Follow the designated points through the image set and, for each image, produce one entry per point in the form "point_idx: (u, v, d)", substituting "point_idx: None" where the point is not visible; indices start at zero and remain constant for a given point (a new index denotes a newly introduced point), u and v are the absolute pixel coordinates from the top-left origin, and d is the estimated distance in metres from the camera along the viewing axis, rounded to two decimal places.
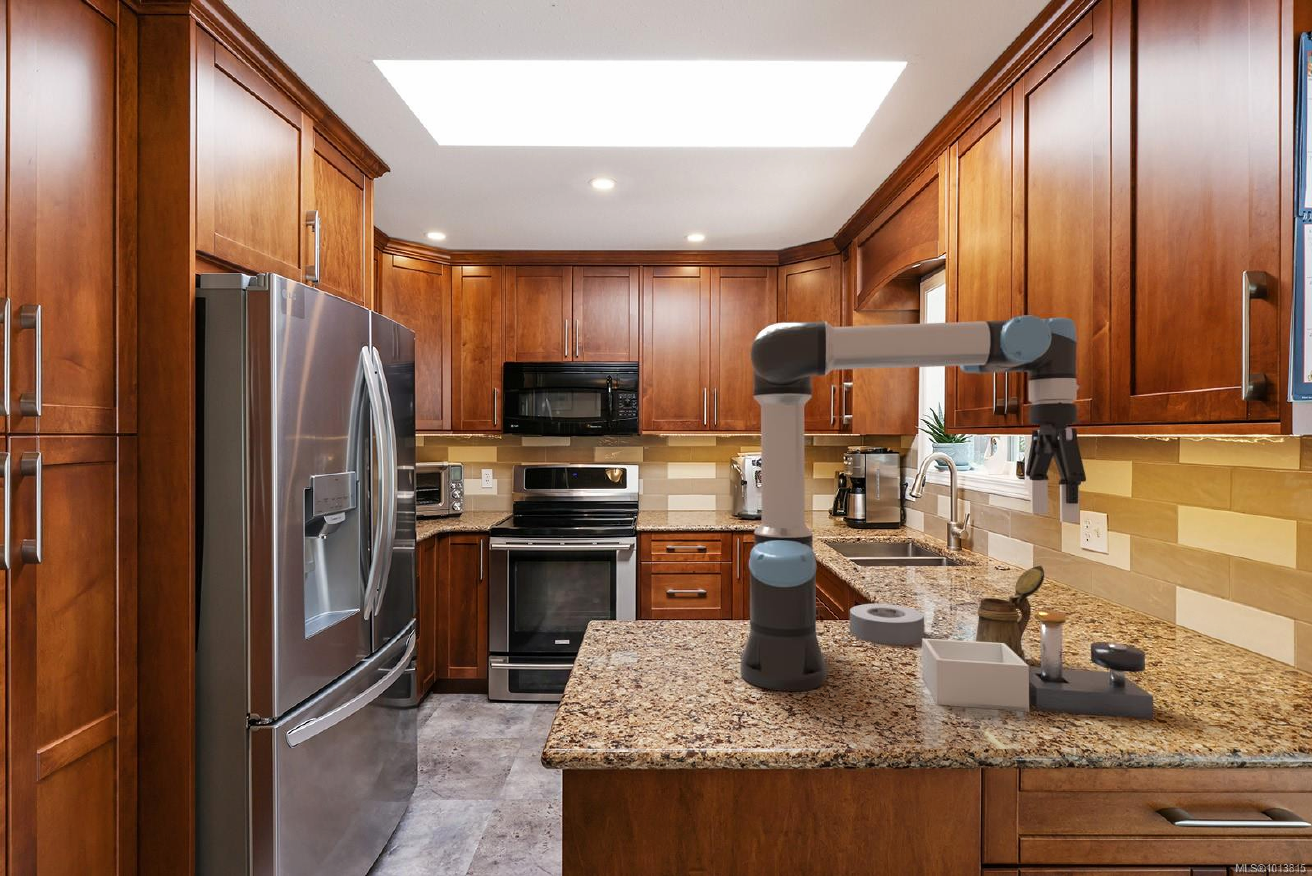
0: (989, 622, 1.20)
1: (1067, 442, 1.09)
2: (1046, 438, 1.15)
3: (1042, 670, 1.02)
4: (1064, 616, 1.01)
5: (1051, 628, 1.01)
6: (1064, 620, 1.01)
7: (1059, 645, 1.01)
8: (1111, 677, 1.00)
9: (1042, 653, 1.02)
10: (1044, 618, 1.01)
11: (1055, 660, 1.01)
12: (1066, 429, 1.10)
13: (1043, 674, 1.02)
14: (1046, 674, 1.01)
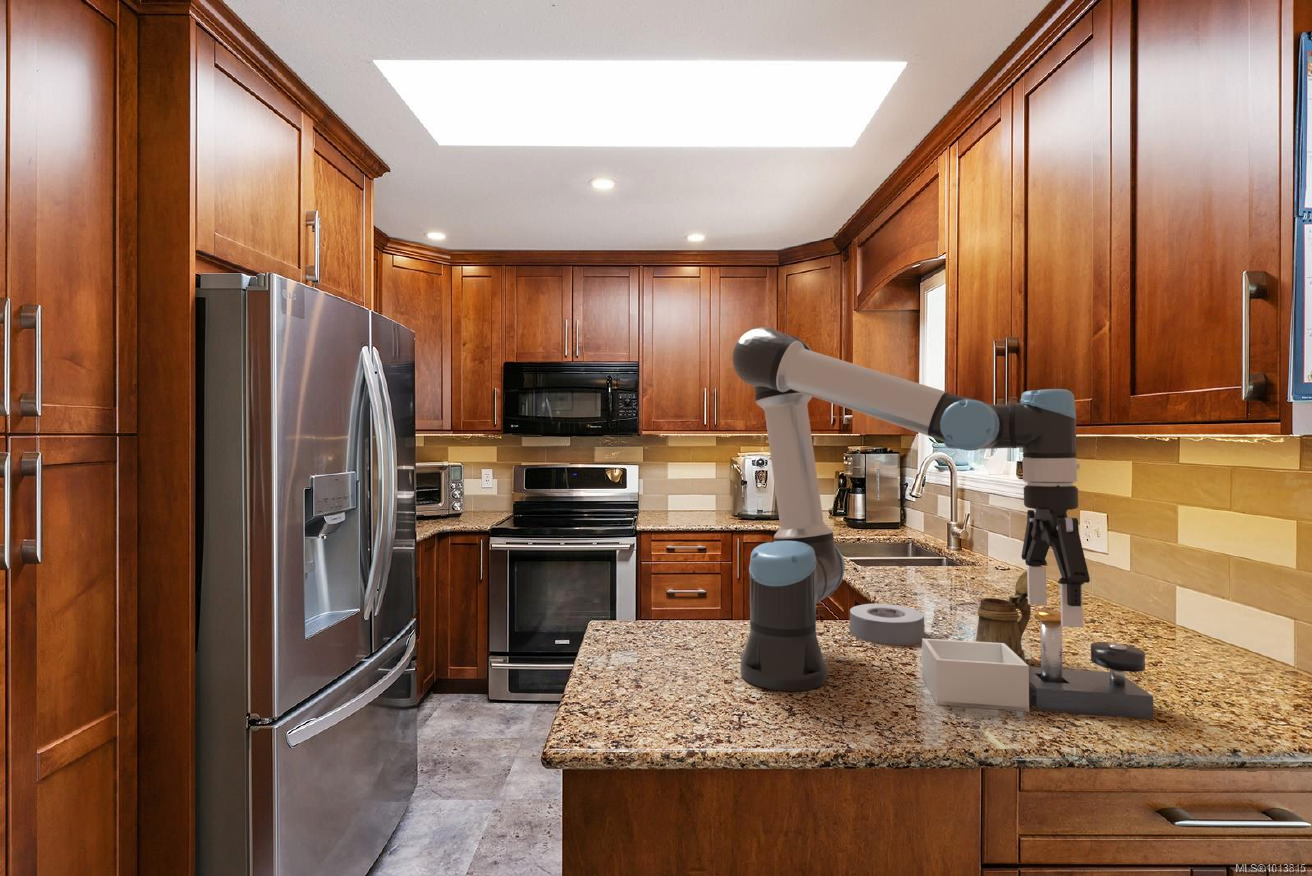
0: (989, 622, 1.20)
1: (1067, 534, 0.95)
2: (1043, 525, 1.01)
3: (1042, 670, 1.02)
4: None
5: (1051, 628, 1.01)
6: None
7: (1059, 645, 1.01)
8: (1111, 677, 1.00)
9: (1042, 653, 1.02)
10: (1044, 618, 1.01)
11: (1055, 660, 1.01)
12: (1066, 519, 0.96)
13: (1043, 674, 1.02)
14: (1046, 674, 1.01)
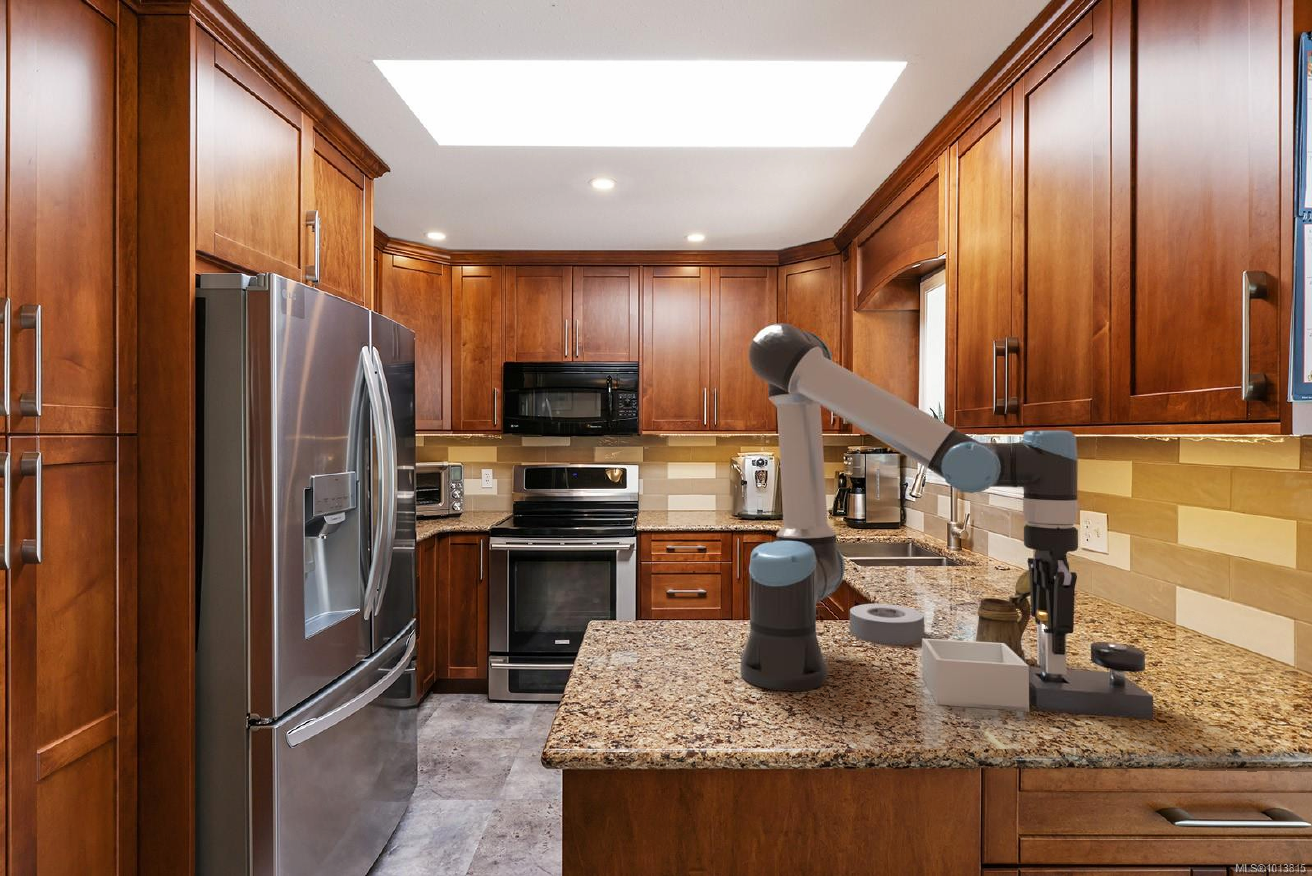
0: (989, 622, 1.20)
1: (1063, 589, 0.97)
2: (1042, 569, 1.01)
3: (1042, 670, 1.02)
4: None
5: None
6: None
7: None
8: (1111, 677, 1.00)
9: (1042, 653, 1.02)
10: (1043, 618, 1.01)
11: None
12: (1065, 575, 0.96)
13: (1043, 674, 1.02)
14: (1046, 674, 1.01)
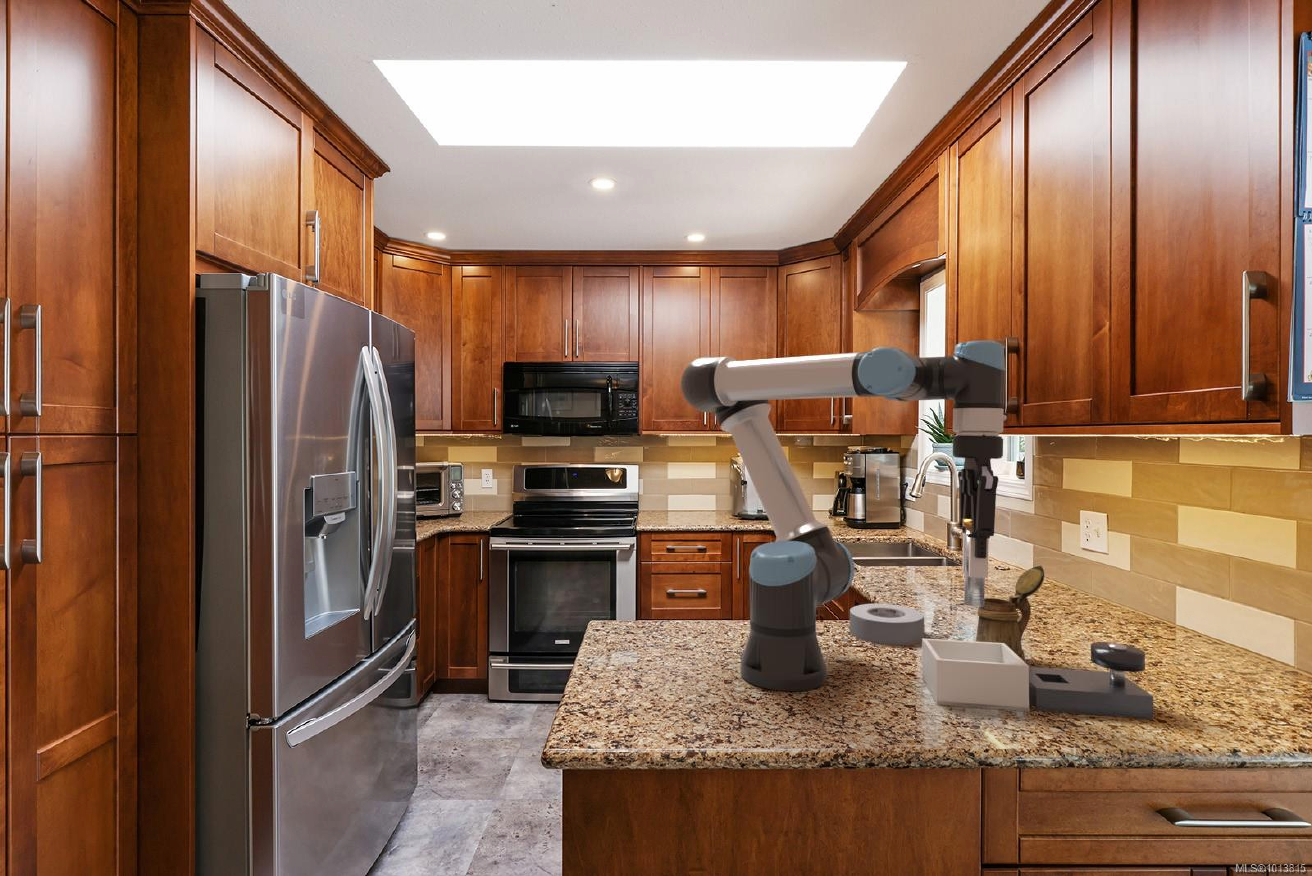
0: (989, 622, 1.20)
1: (985, 492, 0.99)
2: (968, 476, 1.03)
3: (966, 575, 1.05)
4: None
5: None
6: None
7: None
8: (1111, 677, 1.00)
9: (966, 559, 1.05)
10: (968, 524, 1.04)
11: None
12: (987, 478, 0.99)
13: (966, 579, 1.05)
14: (969, 579, 1.04)
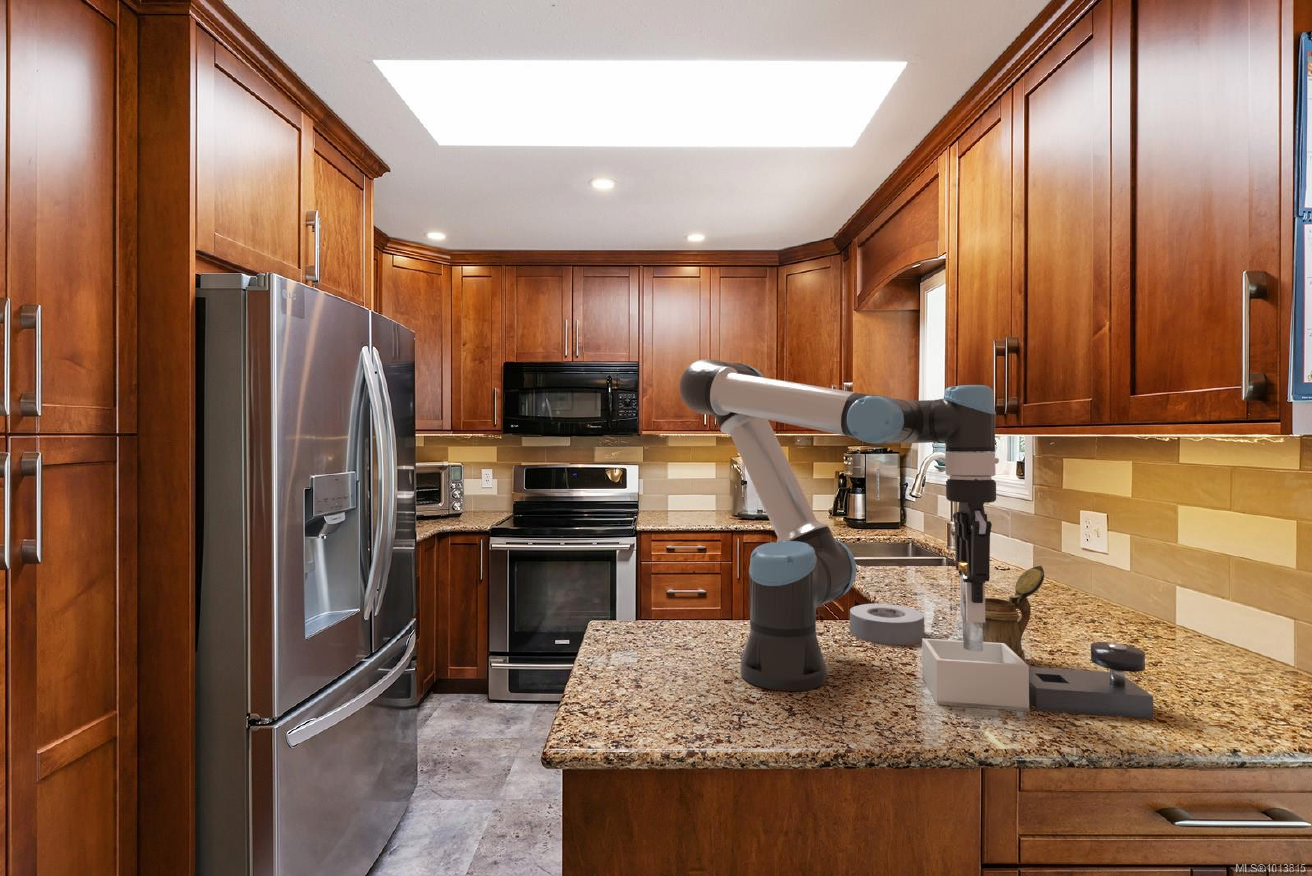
0: (989, 622, 1.20)
1: (979, 538, 0.99)
2: (962, 521, 1.03)
3: (963, 619, 1.05)
4: None
5: None
6: None
7: None
8: (1111, 677, 1.00)
9: (963, 603, 1.05)
10: (964, 568, 1.04)
11: None
12: (980, 524, 0.99)
13: (964, 623, 1.04)
14: (967, 623, 1.04)
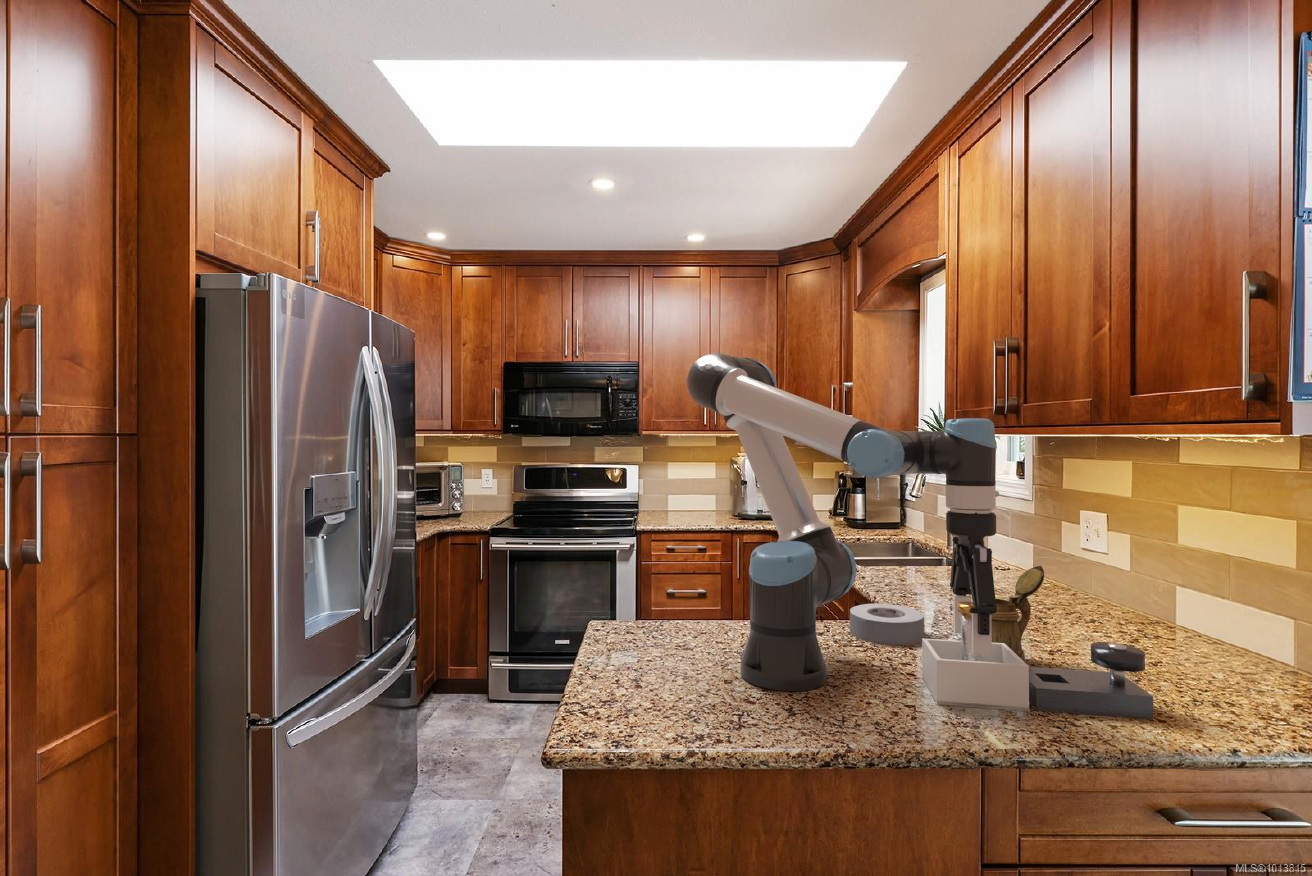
0: None
1: (980, 565, 0.98)
2: (962, 552, 1.03)
3: None
4: None
5: (970, 620, 1.04)
6: None
7: None
8: (1111, 677, 1.00)
9: (962, 644, 1.05)
10: (963, 610, 1.04)
11: None
12: (980, 550, 0.98)
13: None
14: None
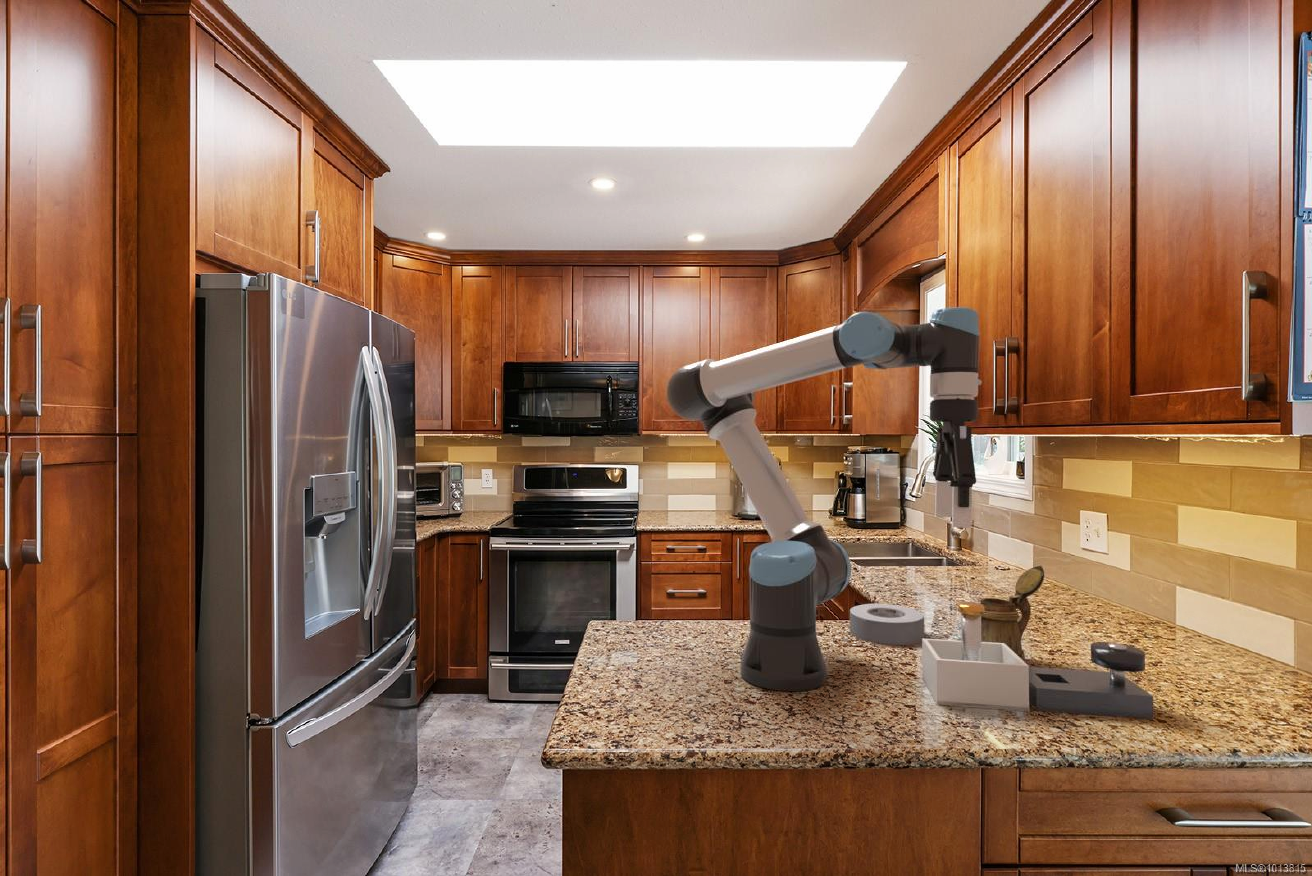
0: (989, 622, 1.20)
1: (960, 441, 1.01)
2: (944, 436, 1.07)
3: None
4: (982, 608, 1.03)
5: (970, 620, 1.04)
6: (982, 612, 1.03)
7: (978, 636, 1.03)
8: (1111, 677, 1.00)
9: (962, 644, 1.05)
10: (963, 610, 1.04)
11: (973, 651, 1.03)
12: (960, 427, 1.02)
13: None
14: None
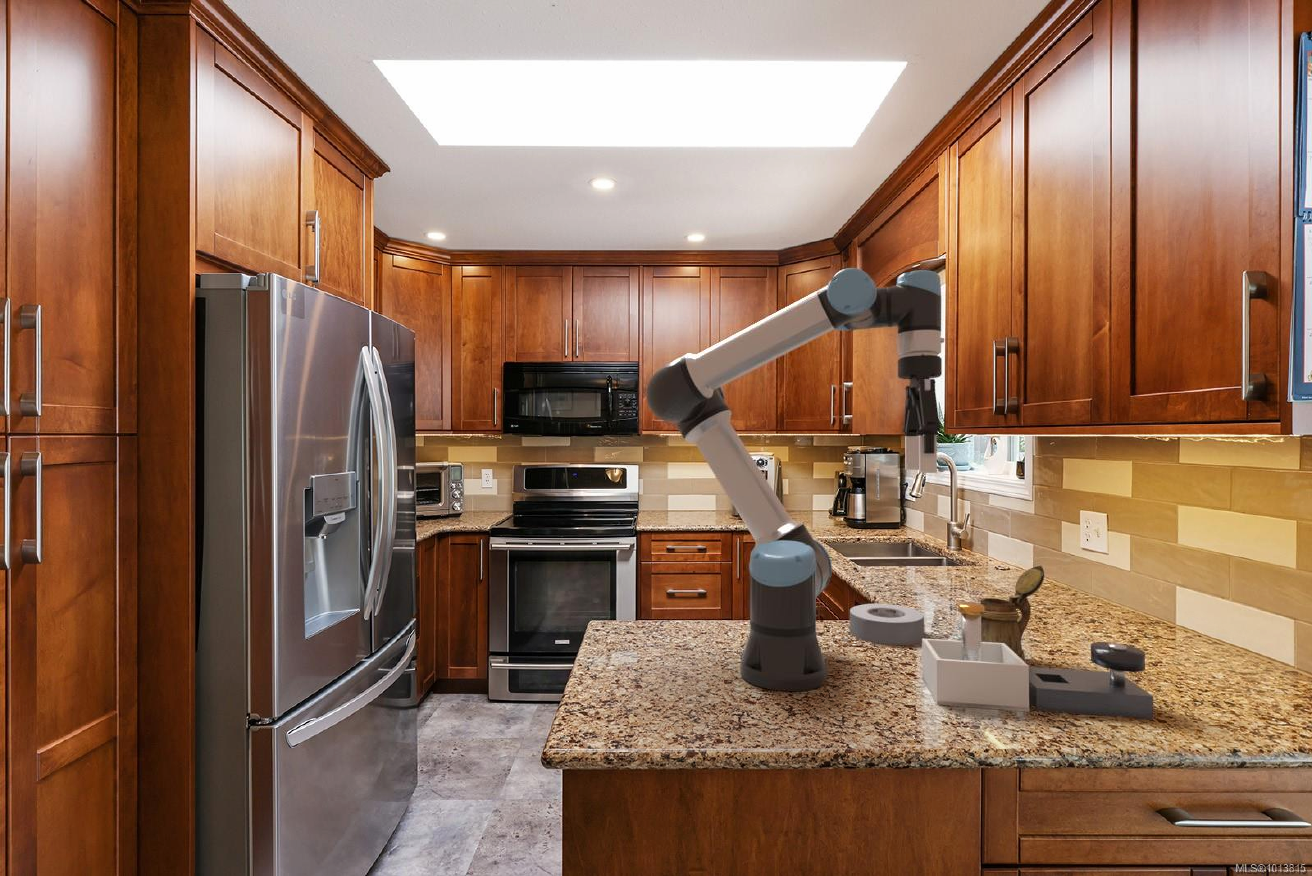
0: (989, 622, 1.20)
1: (925, 392, 1.09)
2: (911, 391, 1.15)
3: None
4: (982, 608, 1.03)
5: (970, 620, 1.04)
6: (982, 612, 1.03)
7: (977, 636, 1.03)
8: (1111, 677, 1.00)
9: (962, 644, 1.05)
10: (963, 610, 1.04)
11: (973, 651, 1.03)
12: (925, 380, 1.10)
13: None
14: None
